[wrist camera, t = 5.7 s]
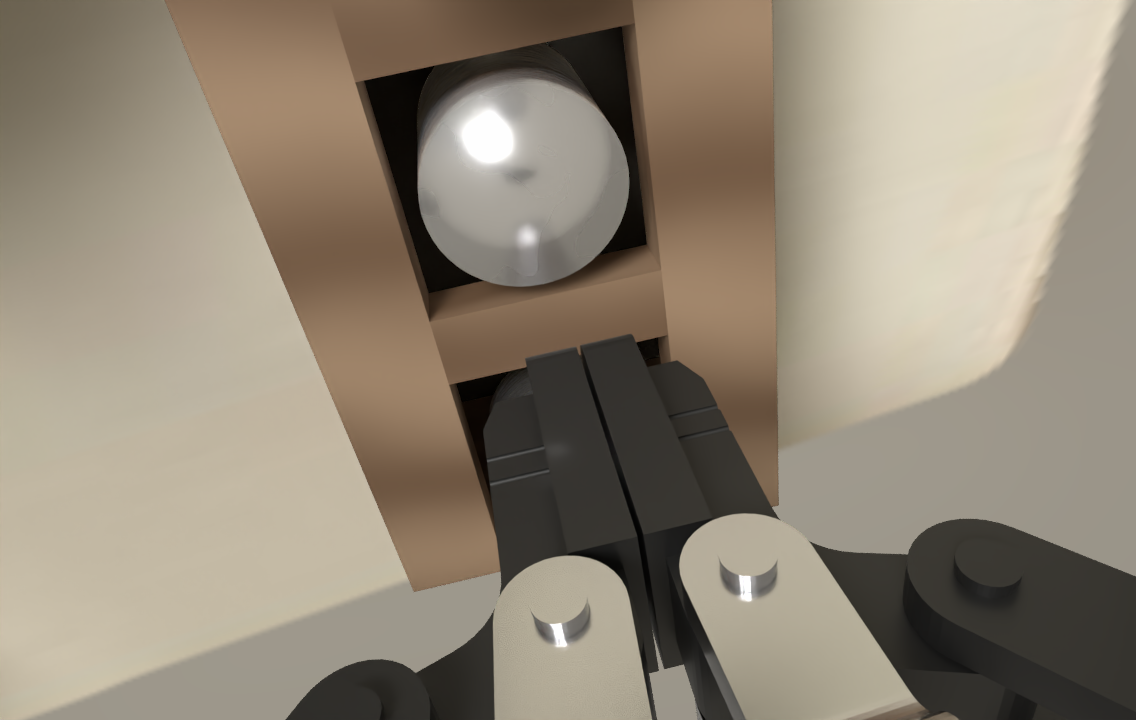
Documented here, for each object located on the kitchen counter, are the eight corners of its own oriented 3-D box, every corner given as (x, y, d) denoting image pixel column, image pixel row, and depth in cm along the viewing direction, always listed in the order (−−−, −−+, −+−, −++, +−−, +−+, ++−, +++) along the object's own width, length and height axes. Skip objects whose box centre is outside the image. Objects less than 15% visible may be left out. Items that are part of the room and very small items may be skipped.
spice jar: (395, 53, 21) (391, 111, 17) (575, 15, 21) (615, 63, 17) (441, 221, 24) (447, 305, 19) (600, 186, 24) (639, 262, 20)
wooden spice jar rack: (107, -419, 18) (-71, -559, 11) (635, -515, 18) (762, -704, 12) (413, 433, 32) (414, 592, 25) (704, 366, 32) (778, 505, 26)
